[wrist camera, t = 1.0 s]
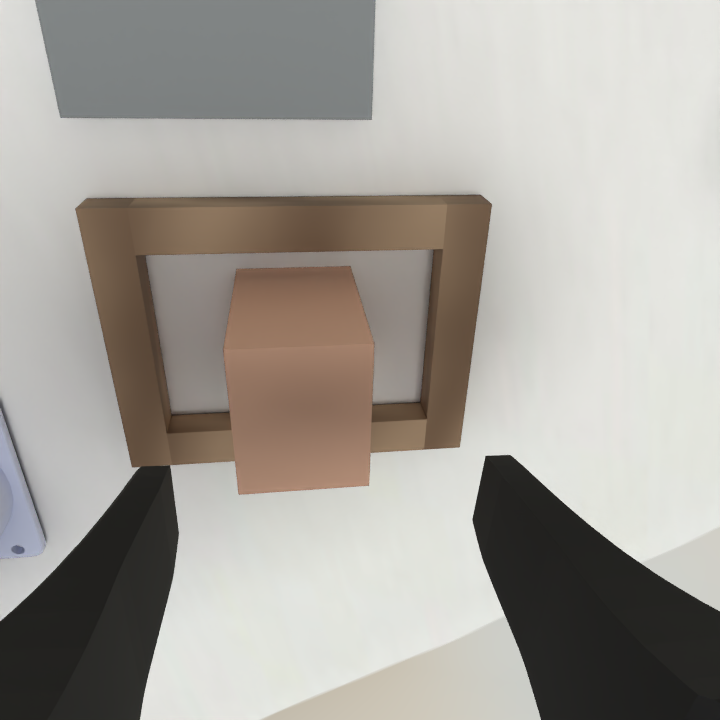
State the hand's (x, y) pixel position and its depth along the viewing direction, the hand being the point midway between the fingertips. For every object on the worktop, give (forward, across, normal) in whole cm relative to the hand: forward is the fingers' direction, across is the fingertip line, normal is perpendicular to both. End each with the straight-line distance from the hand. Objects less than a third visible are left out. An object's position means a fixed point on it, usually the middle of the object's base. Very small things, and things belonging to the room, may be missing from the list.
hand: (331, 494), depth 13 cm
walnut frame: (+10, +1, +1) cm, 10 cm away
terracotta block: (+10, +1, +1) cm, 10 cm away
